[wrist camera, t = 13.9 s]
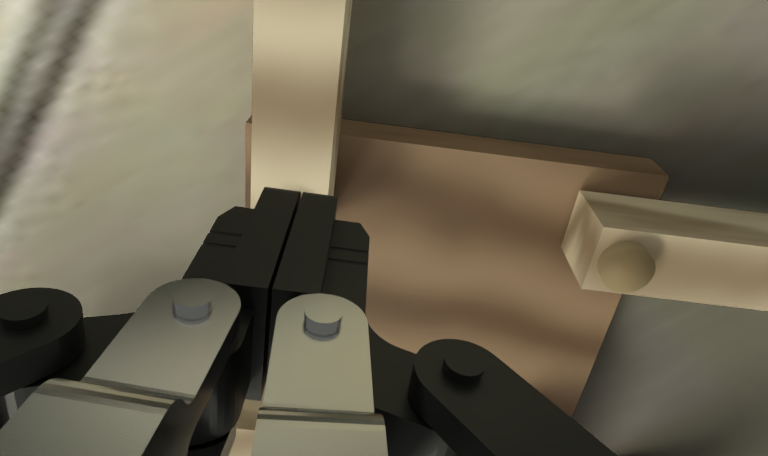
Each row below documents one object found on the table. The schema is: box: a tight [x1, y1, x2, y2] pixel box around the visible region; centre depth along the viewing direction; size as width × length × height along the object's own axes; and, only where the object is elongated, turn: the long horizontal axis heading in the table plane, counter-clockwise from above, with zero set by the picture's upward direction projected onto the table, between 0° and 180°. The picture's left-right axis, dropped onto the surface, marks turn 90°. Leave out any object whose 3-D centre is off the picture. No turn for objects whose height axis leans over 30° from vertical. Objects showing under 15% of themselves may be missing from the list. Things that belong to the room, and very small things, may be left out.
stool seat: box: [229, 115, 768, 456], centre depth 35 cm, size 32×44×8 cm
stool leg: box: [250, 0, 352, 209], centre depth 25 cm, size 15×4×5 cm, turn 173°
